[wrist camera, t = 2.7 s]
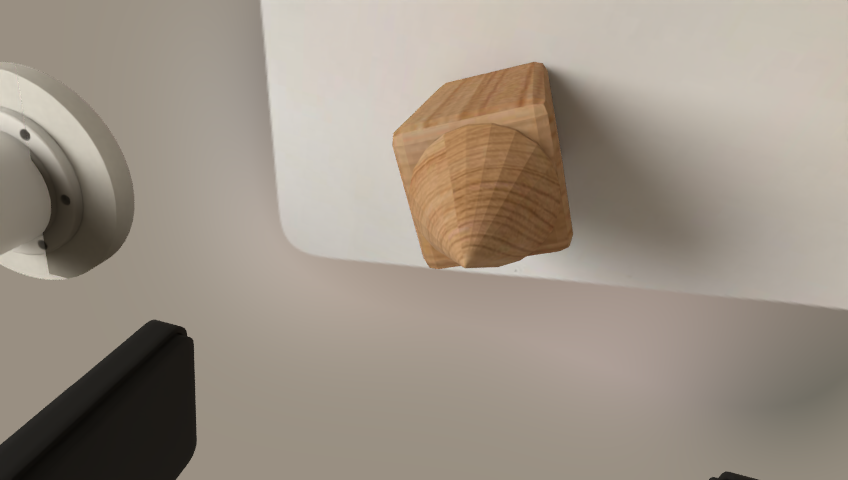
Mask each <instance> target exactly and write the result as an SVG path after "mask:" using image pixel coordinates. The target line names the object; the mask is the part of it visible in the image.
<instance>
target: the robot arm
mask: <svg viewBox="0 0 848 480" xmlns="http://www.w3.org/2000/svg"><path fill="white" fill-rule="evenodd" d="M82 214H83V199H82V192H81V188H80V184H79V180H78V178H77V176H76V173H75V171H74V169H73V166H72V165H71V163H70V161H69V160H68V158H67V156H66V155H65V153H64V152H63V150H62V149H61V148H60V147H59V145H58V144H57V143H56V142H55V140H54V139H53V138H52V137H51V136H50V135H49V134H48V133H47V132H46V131H45V130H44V129H42V128H41V127H40V126H39V125H37V124H36V123H35V122H33V121H32V120H30V119H29V118H28V117H26V116H24V115H22V114H20V113H18V112H16V111H14V110H11V109H8V108H5V107H2V106H0V255H2V254H4V253H6V252H8V251H13V252H16V253H20V254H27V255H41V254H45V253H49V252H52V251H54V250H56V249H58V248H60V247H62V246H63V245H65V244H66V243H67V242H69V241H70V240H71V239H72V238H73V236H74V235H75V234H76V232H77V231H78V229H79V226H80V223H81V221H82ZM194 373H195V372H194V344H193V340H192V338H190V337H187V332H186V330H185V328H183V327H181V326H177V325H173V324H169V323H165V322H161V321H157V320H151V321H149V322H148V323H146V324H145V325H144V326H142V327H141V328H140V329H139V330H138V331H136V332H135V333H134V334H133V335H132V336H130V337H129V338H128V339H127V340H126V341H125V342H123V343H122V344H121V345H120V346H119V347H117V348H116V349H115V350H114V351H113V352H112V353H110V354H109V355H108V356H107V357H106V358H104V359H103V360H102V361H101V362H99V363H98V364H97V365H96V366H95V367H94V368H92V369H91V370H90V371H89V372H88V373H86V374H85V375H84V376H83V377H82V378H80V379H79V380H78V381H77V382H76V383H74V384H73V385H72V386H70V387H69V388H68V389H67V390H65V391H64V392H63V393H62V394H61V395H60V396H58V397H57V398H56V399H55V400H53V401H52V402H51V403H50V404H49V405H47V406H46V407H45V408H44V409H43V410H41V411H40V412H39V413H38V414H37V415H36V416H34V417H33V418H32V419H31V420H30V421H28V422H27V423H26V424H25V425H24V426H22V427H21V428H20V429H19V430H18V431H16V432H15V433H14V434H13V435H12V436H10V437H9V438H8V439H7V440H6V441H4V442H3V443H2V444H1V445H0V480H176V478H177V477H178V476H179V474H180V473H181V472H182V471H183V469H184V468H185V467H186V465H187V464H188V463H189V461H190V460H191V458H192V456H193V454H194V451H195V448H196V441H197V438H196V405H195V374H194ZM709 480H758V479H754V478H750V477H746V476H743V475H739V474H735V473H731V472H724V473H722V474H721V476H720V477H719V478H715V477H712V478H710V479H709Z"/></svg>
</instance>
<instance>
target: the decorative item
mask: <svg viewBox="0 0 848 480" xmlns="http://www.w3.org/2000/svg"><path fill="white" fill-rule="evenodd" d="M392 145H393V149H394V152H395V156H396V160H397V163H398V167H399V170H400V174H401V178H402V181H403V185H404V189H405V192H406V196H407V199H408V203H409V207H410V210H411V214H412V217H413V221H414V225H415V228H416V232H417V235H418V239H419V243H420V246H421V250H422V254H423V257H424V259H425V261H426V262H427V264H428V265H429V267H430V268H435V269H442V268H449V267H455V266H463V267H464V268H482V267H500V266H503V265H506V264H510V263H513V262H516V261H520V260H521V259H523V258H524V257H526V256H530V255H537V254H544V253H551V252H557V251H561V250H563V249H565V248H567V247H569V246H570V243H571V240H572V236H573V231H572V224H571V217H570V210H569V203H568V196H567V190H566V183H565V176H564V169H563V162H562V156H561V150H560V144H559V138H558V132H557V125H556V119H555V113H554V107H553V101H552V95H551V89H550V83H549V77H548V71H547V69H546V68H545V66H544V65H543V63H537V62H532V63H528V64H524V65H519V66H515V67H511V68H507V69H503V70H499V71H494V72H490V73H486V74H482V75H478V76H474V77H469V78H465V79H461V80H457V81H453V82H449V83H446V84H444V85H443V86H442V87H440V88H439V89H438V90H437V91H436V92H435V93H434V94H433V95H432V96H431V97H430V98H429V99H428V100H427V101H426V102H425V103H424V104H423V105H422V106H421V107H420V108H419V109H418V110H417V111H416V112H415V113H414V114H413V115H412V116H410V117H409V118H408V119H407V120H406V121H405V122H404V123H403V124H402V125H401V126H400V127H399V128H398V129H397V130H396V131H395V132H394V135H393V144H392Z"/></svg>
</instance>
